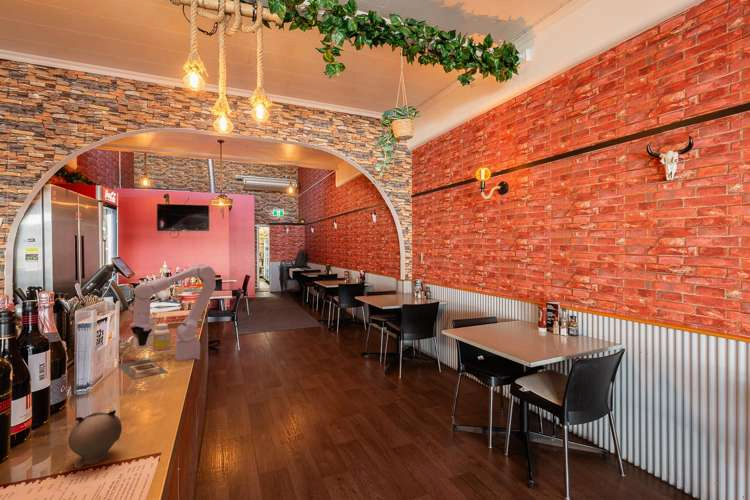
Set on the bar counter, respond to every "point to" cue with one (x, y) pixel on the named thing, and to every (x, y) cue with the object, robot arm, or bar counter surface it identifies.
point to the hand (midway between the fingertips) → (140, 344)
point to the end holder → (144, 370)
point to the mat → (126, 366)
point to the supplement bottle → (161, 338)
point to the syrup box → (151, 335)
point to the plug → (136, 343)
